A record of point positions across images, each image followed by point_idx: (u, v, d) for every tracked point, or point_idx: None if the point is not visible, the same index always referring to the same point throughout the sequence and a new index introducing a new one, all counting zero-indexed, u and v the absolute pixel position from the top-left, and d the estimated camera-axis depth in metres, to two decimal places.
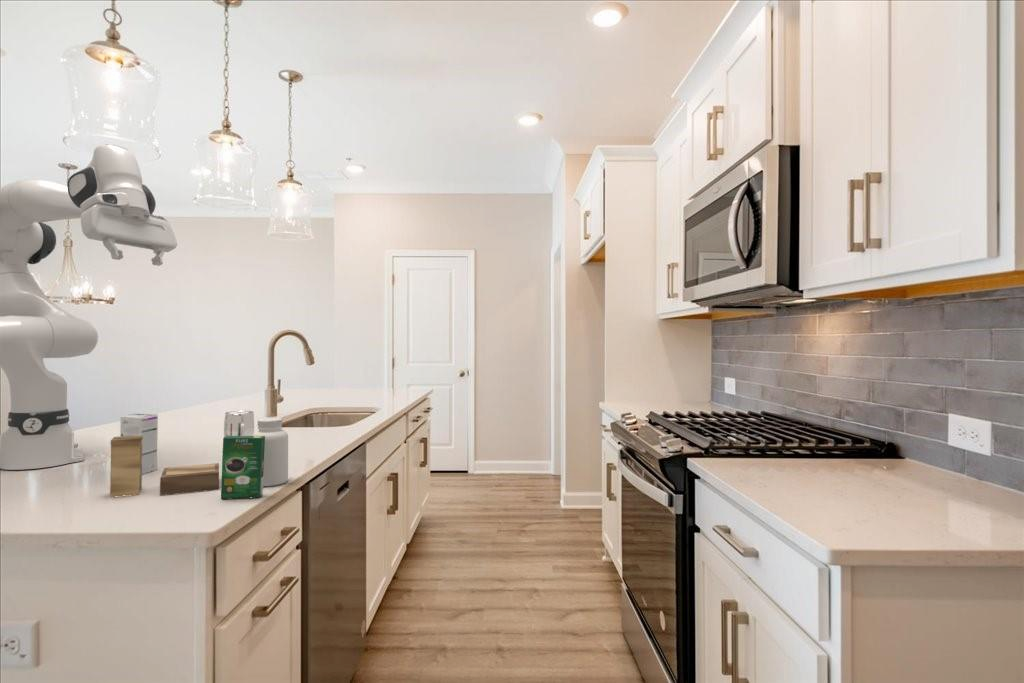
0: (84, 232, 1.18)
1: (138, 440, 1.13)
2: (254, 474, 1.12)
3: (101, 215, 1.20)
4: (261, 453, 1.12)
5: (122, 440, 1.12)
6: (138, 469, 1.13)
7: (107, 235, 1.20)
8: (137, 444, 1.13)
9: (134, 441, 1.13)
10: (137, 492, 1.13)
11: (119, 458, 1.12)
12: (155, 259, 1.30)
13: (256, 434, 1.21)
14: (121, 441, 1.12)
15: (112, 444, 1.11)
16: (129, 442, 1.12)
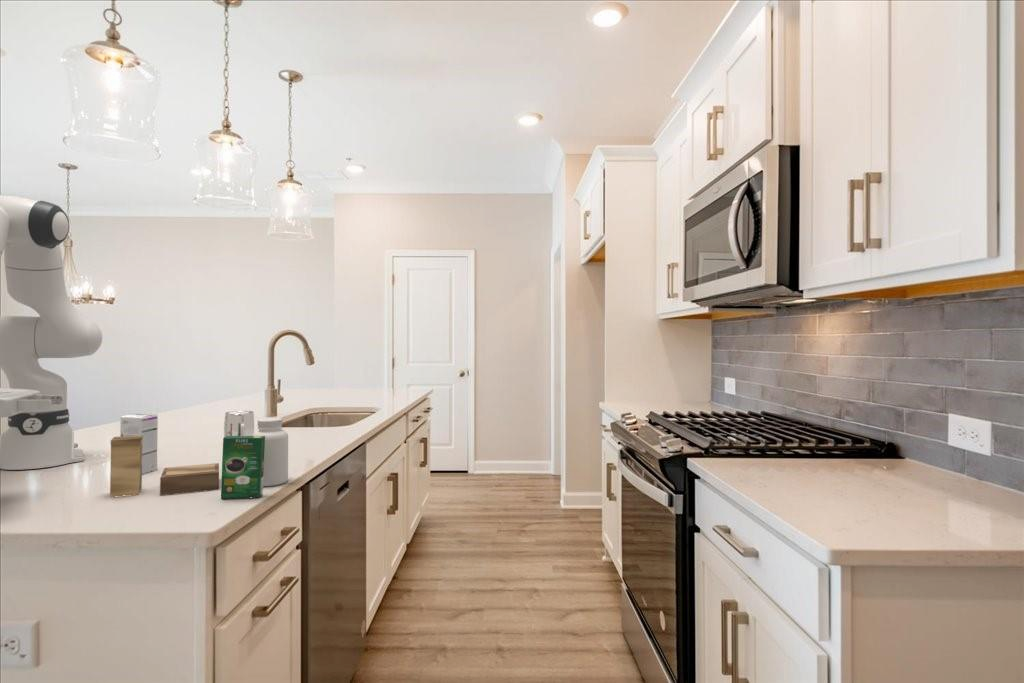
0: None
1: (138, 440, 1.13)
2: (254, 474, 1.12)
3: None
4: (261, 453, 1.12)
5: (122, 440, 1.12)
6: (138, 469, 1.13)
7: None
8: (137, 444, 1.13)
9: (134, 441, 1.13)
10: (137, 492, 1.13)
11: (119, 458, 1.12)
12: None
13: (256, 434, 1.21)
14: (121, 441, 1.12)
15: (112, 444, 1.11)
16: (129, 442, 1.12)
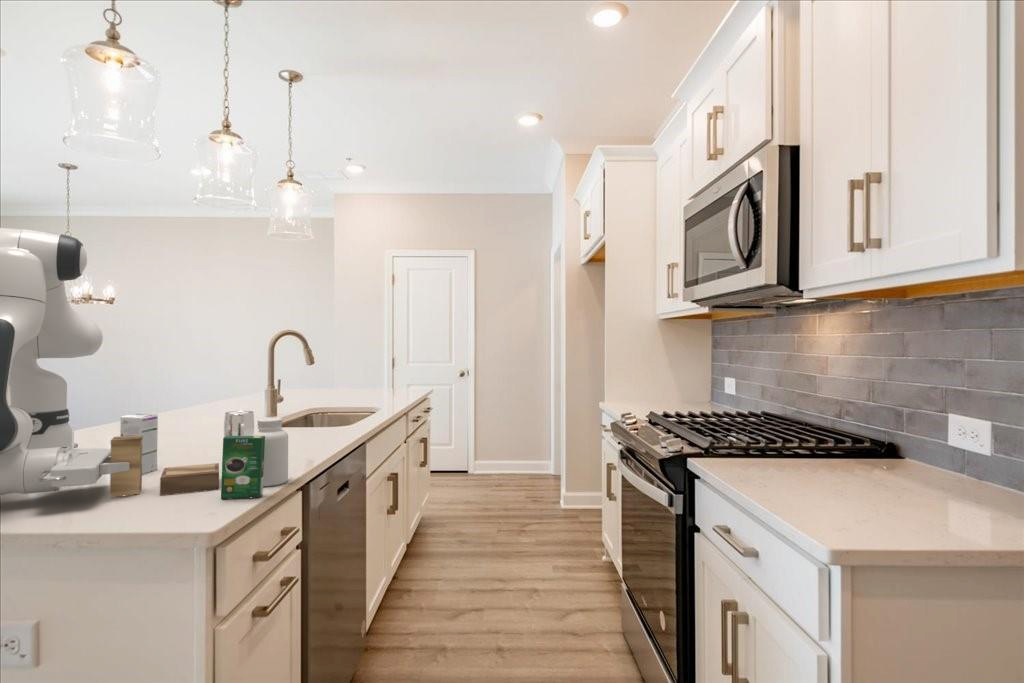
0: None
1: (138, 440, 1.13)
2: (254, 474, 1.12)
3: None
4: (261, 453, 1.12)
5: (122, 440, 1.12)
6: (138, 469, 1.13)
7: None
8: (137, 444, 1.13)
9: (134, 441, 1.13)
10: (137, 492, 1.13)
11: (119, 458, 1.12)
12: None
13: (256, 434, 1.21)
14: (121, 441, 1.12)
15: (112, 444, 1.11)
16: (129, 442, 1.12)
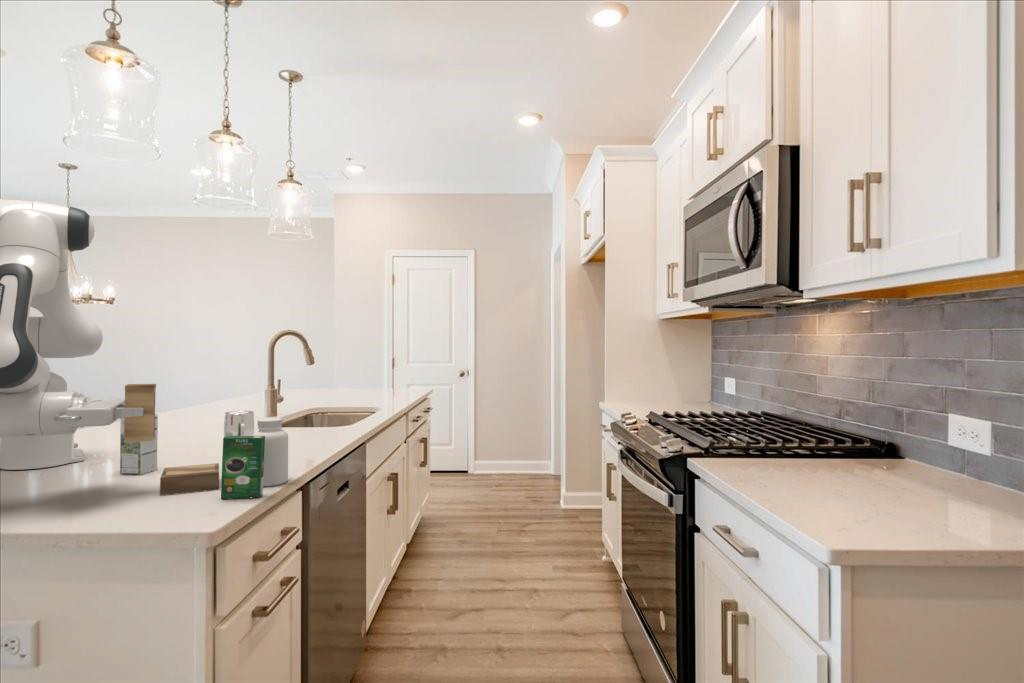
0: None
1: (152, 386, 1.14)
2: (254, 474, 1.12)
3: None
4: (261, 453, 1.12)
5: (136, 386, 1.13)
6: (151, 415, 1.14)
7: None
8: (151, 390, 1.14)
9: (148, 387, 1.14)
10: (150, 438, 1.14)
11: (133, 404, 1.13)
12: None
13: (256, 434, 1.21)
14: (135, 387, 1.13)
15: (126, 389, 1.12)
16: (142, 388, 1.13)
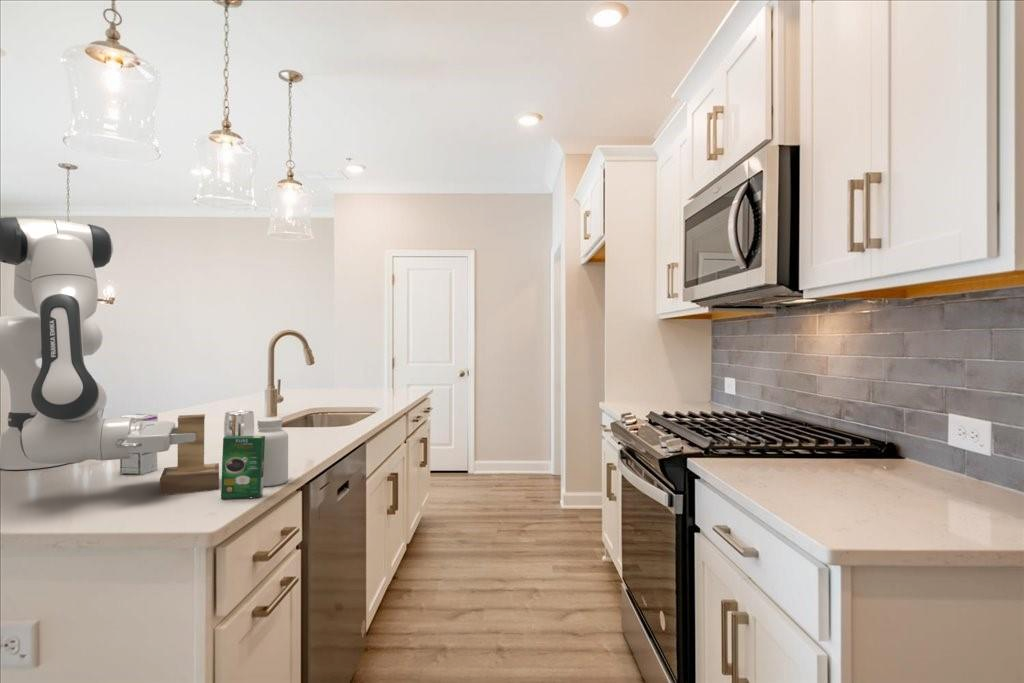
0: None
1: (202, 418, 1.19)
2: (254, 474, 1.12)
3: None
4: (261, 453, 1.12)
5: (188, 418, 1.18)
6: (202, 446, 1.19)
7: None
8: (201, 422, 1.19)
9: (199, 419, 1.19)
10: (202, 467, 1.19)
11: None
12: None
13: (256, 434, 1.21)
14: (187, 419, 1.18)
15: (179, 421, 1.17)
16: (194, 420, 1.18)
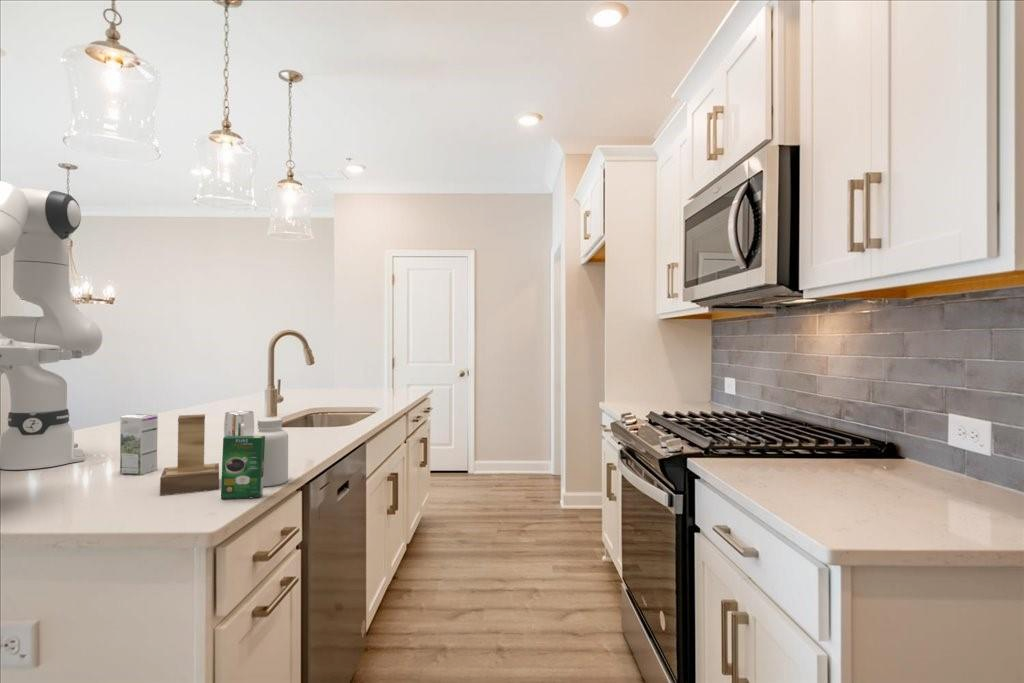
0: None
1: (203, 418, 1.19)
2: (254, 474, 1.12)
3: None
4: (261, 453, 1.12)
5: (188, 418, 1.18)
6: (203, 446, 1.19)
7: (56, 360, 1.15)
8: (202, 422, 1.19)
9: (199, 419, 1.19)
10: (202, 468, 1.19)
11: (185, 435, 1.18)
12: None
13: (256, 434, 1.21)
14: (187, 419, 1.18)
15: (179, 421, 1.17)
16: (194, 420, 1.18)
